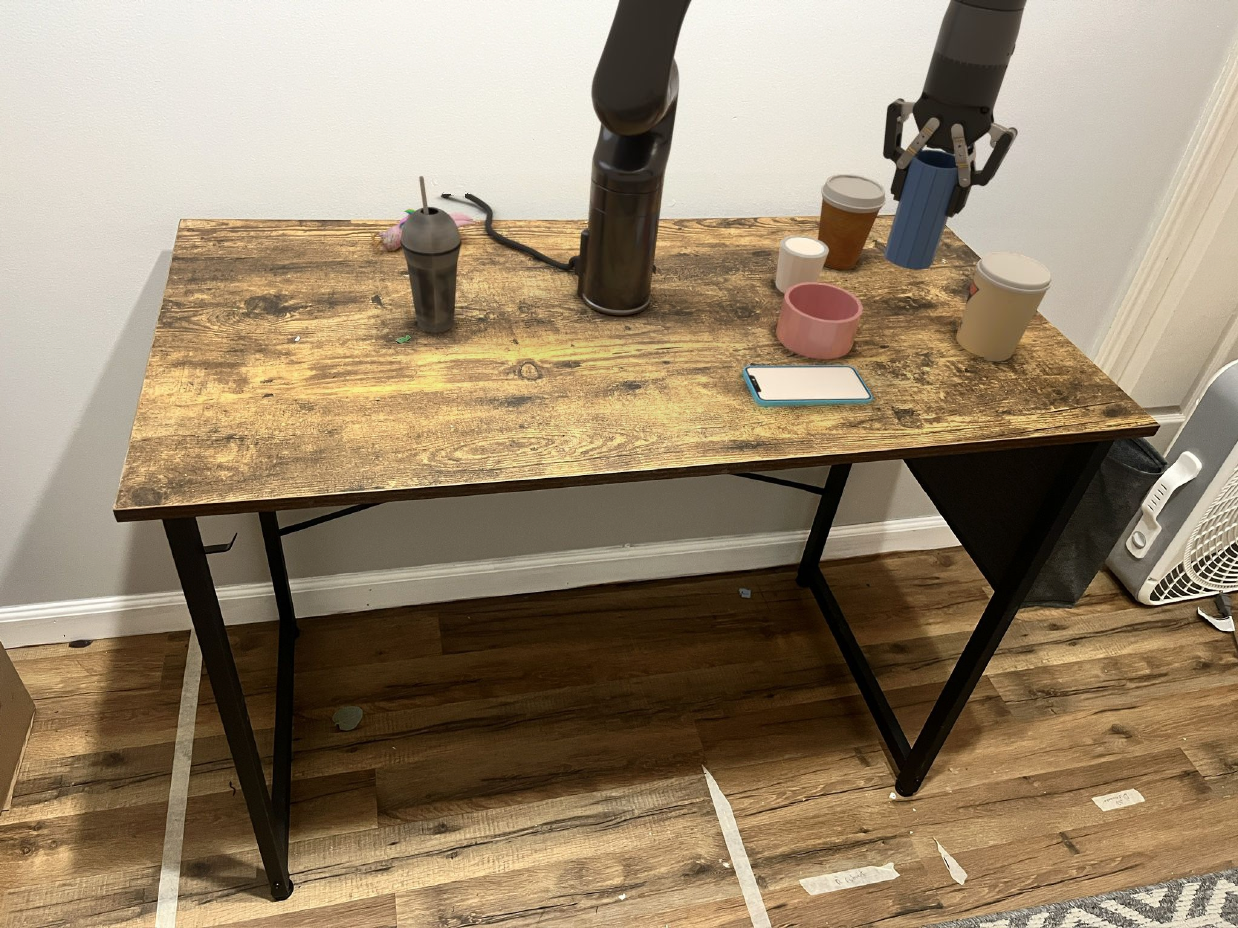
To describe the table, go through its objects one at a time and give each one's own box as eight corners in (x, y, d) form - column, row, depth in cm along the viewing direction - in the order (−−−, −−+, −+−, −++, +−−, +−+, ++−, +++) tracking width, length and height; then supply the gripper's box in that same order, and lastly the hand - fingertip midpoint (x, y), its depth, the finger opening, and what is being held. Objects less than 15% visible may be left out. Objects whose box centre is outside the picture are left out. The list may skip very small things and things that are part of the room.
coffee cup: (969, 320, 127) (1000, 243, 119) (1030, 349, 122) (1066, 271, 115) (936, 342, 122) (966, 263, 114) (998, 373, 117) (1034, 293, 109)
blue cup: (877, 259, 105) (906, 159, 97) (894, 243, 109) (922, 145, 101) (923, 274, 103) (956, 174, 95) (938, 257, 107) (971, 159, 99)
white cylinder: (816, 305, 127) (828, 260, 122) (769, 296, 127) (779, 252, 123) (818, 282, 132) (829, 239, 127) (772, 274, 133) (782, 231, 128)
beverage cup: (475, 319, 116) (471, 171, 103) (443, 345, 111) (436, 192, 98) (428, 303, 118) (419, 155, 105) (395, 328, 113) (381, 176, 100)
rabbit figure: (381, 267, 127) (481, 241, 130) (370, 229, 123) (474, 203, 126) (373, 247, 131) (470, 222, 134) (362, 210, 127) (463, 185, 130)
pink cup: (762, 342, 118) (771, 303, 114) (795, 312, 125) (804, 274, 121) (832, 371, 114) (844, 331, 110) (862, 338, 121) (874, 300, 117)
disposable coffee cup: (875, 259, 139) (897, 185, 131) (853, 282, 133) (875, 206, 125) (819, 240, 143) (837, 167, 135) (795, 261, 136) (813, 186, 129)
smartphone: (875, 400, 108) (759, 402, 105) (872, 408, 109) (756, 409, 106) (853, 365, 114) (741, 365, 111) (850, 372, 115) (740, 373, 112)
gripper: (893, 42, 91) (853, 199, 102) (1035, 75, 85) (977, 237, 96) (917, 28, 96) (877, 179, 107) (1053, 58, 90) (995, 215, 101)
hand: (924, 206), depth 101 cm, fingers closed on blue cup, 5 cm apart
